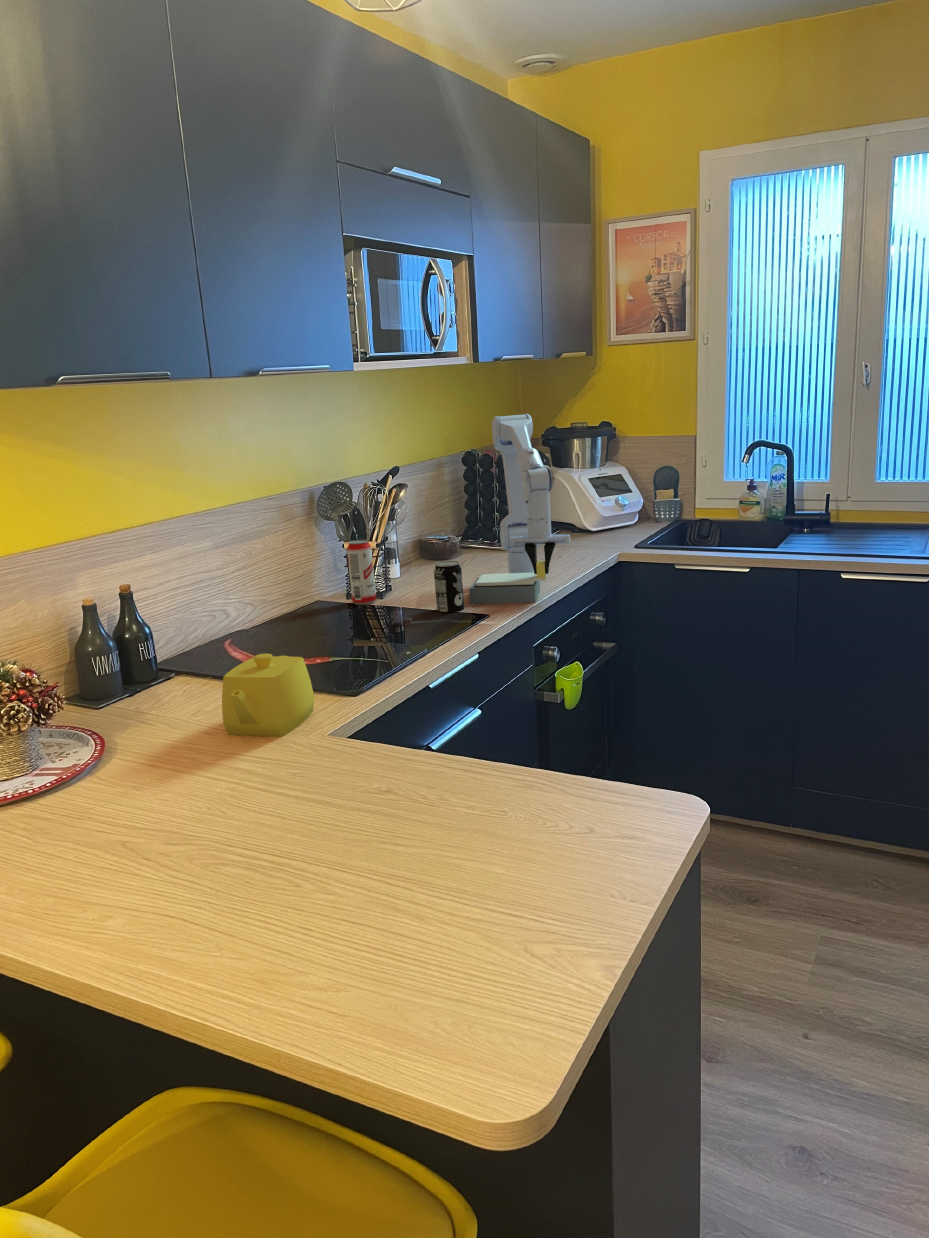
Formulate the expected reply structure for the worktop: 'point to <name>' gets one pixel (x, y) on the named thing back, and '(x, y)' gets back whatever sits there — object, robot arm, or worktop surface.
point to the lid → (514, 577)
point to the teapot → (266, 696)
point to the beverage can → (448, 587)
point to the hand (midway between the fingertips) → (541, 573)
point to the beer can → (361, 572)
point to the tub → (504, 594)
